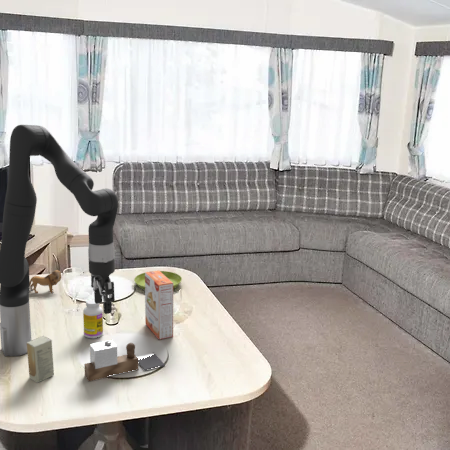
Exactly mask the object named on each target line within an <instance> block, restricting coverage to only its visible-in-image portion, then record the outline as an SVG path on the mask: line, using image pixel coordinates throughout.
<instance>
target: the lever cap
mask: <svg viewBox="0 0 450 450" xmlns="http://www.w3.org/2000/svg"><path fill="white" fill-rule="evenodd" d="M117 357H118V345H117V344H116V343H115V342H114V341H113V339H108V340H104V341H99V342H94V343H90V344H89V363H91V364H92V365H93V366H94V368H95V369H98V368H102V367H107V366H111V365H115V364H117Z"/></svg>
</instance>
